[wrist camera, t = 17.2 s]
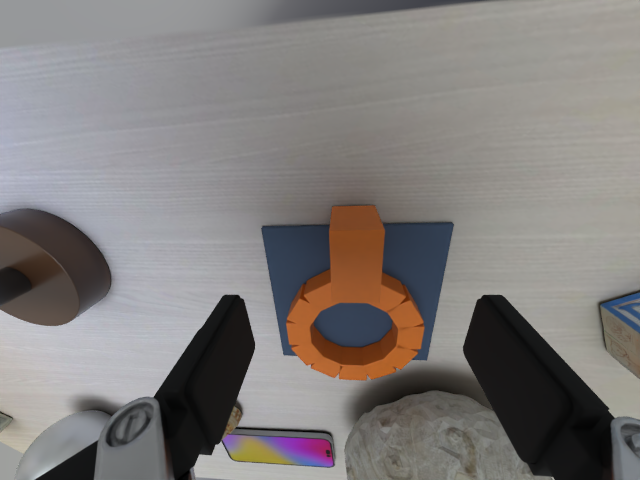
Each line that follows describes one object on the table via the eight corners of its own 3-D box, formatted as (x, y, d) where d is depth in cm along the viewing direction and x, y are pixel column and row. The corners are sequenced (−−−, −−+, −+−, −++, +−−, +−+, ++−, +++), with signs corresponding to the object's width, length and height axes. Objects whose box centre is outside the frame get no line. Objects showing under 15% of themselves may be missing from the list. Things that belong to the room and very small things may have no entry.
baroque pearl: (130, 441, 36) (59, 546, 27) (67, 414, 34) (-32, 518, 25) (149, 416, 32) (75, 528, 23) (80, 385, 31) (-30, 494, 22)
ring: (277, 207, 17) (257, 231, 13) (434, 203, 16) (464, 228, 12) (297, 358, 24) (288, 404, 20) (409, 363, 23) (422, 412, 19)
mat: (262, 226, 19) (261, 228, 18) (451, 222, 17) (454, 224, 17) (284, 352, 25) (283, 355, 24) (425, 356, 23) (427, 360, 23)
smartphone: (216, 432, 31) (330, 438, 29) (219, 426, 32) (331, 432, 30) (231, 461, 34) (335, 468, 32) (233, 455, 35) (335, 461, 33)
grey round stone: (319, 386, 26) (307, 521, 17) (492, 346, 22) (597, 501, 13) (377, 465, 33) (390, 594, 24) (521, 446, 28) (605, 597, 19)
